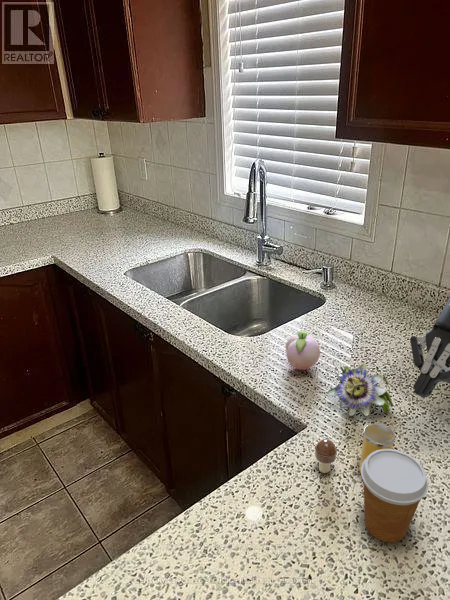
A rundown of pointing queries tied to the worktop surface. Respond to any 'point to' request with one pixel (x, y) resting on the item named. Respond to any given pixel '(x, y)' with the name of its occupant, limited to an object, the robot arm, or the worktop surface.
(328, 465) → the mushroom
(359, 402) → the passion flower
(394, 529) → the disposable coffee cup
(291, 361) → the decorative fruit
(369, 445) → the yellow tin
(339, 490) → the worktop surface
